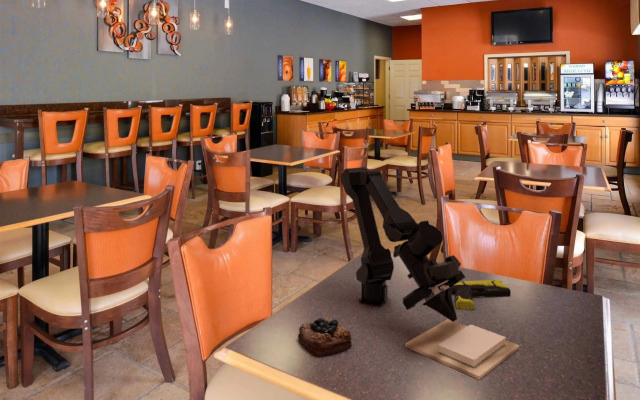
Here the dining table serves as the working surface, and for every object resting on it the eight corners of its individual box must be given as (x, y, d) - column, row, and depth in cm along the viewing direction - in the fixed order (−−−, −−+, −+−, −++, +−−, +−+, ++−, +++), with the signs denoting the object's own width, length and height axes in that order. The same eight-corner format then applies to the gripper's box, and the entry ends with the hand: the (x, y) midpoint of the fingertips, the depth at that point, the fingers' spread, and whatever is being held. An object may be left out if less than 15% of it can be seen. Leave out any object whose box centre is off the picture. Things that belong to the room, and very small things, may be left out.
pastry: (315, 361, 112) (315, 337, 111) (292, 338, 122) (292, 316, 121) (357, 348, 117) (357, 325, 116) (331, 327, 127) (331, 306, 126)
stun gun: (524, 299, 137) (500, 278, 151) (455, 302, 135) (438, 280, 150) (523, 309, 137) (500, 287, 152) (455, 312, 136) (438, 290, 150)
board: (405, 346, 117) (405, 343, 117) (447, 321, 129) (447, 318, 129) (479, 379, 104) (479, 376, 104) (519, 348, 116) (519, 345, 116)
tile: (438, 344, 113) (474, 360, 106) (470, 324, 122) (505, 337, 116) (437, 352, 113) (473, 368, 107) (470, 331, 122) (505, 344, 116)
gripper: (415, 256, 110) (456, 319, 105) (460, 238, 123) (499, 293, 118) (386, 280, 118) (423, 339, 113) (431, 260, 130) (467, 313, 125)
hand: (455, 320), depth 117 cm, fingers closed
